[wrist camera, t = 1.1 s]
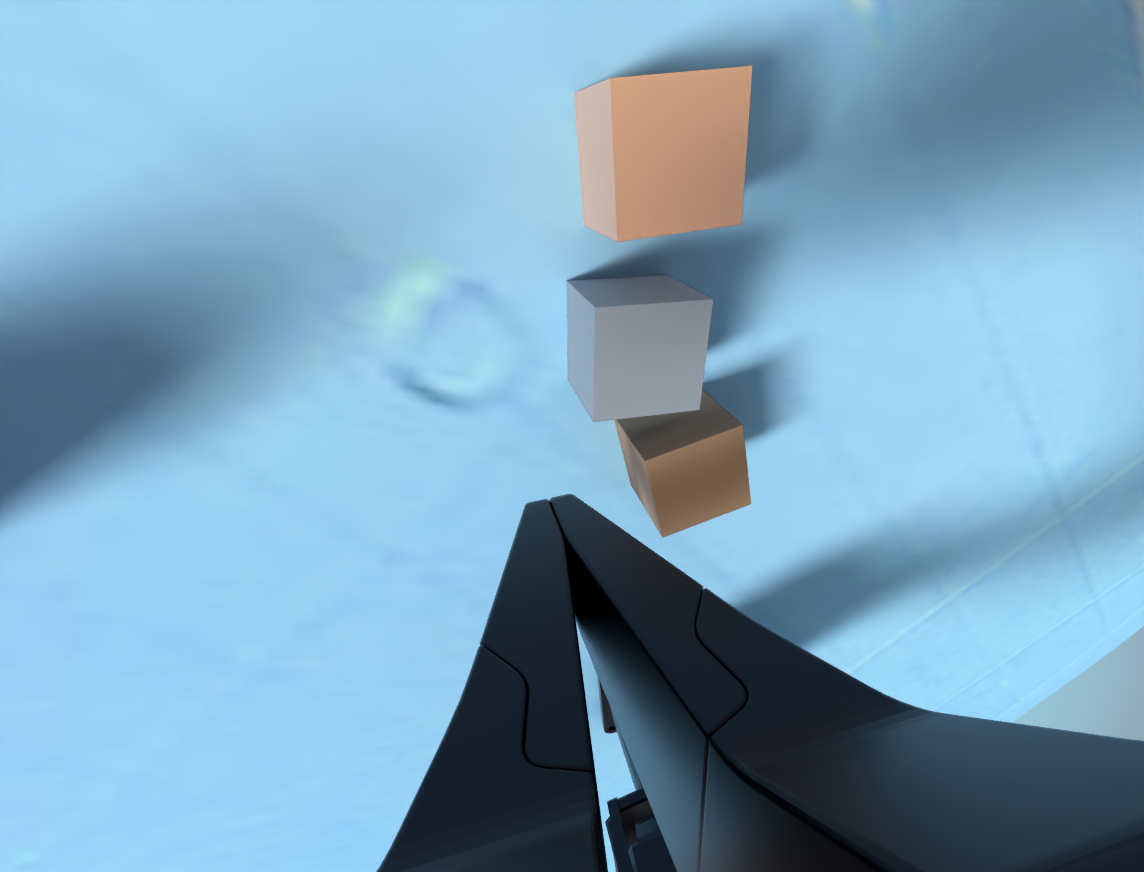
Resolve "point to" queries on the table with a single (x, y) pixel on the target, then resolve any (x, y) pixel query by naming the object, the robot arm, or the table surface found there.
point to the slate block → (636, 345)
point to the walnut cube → (686, 464)
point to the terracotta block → (663, 152)
